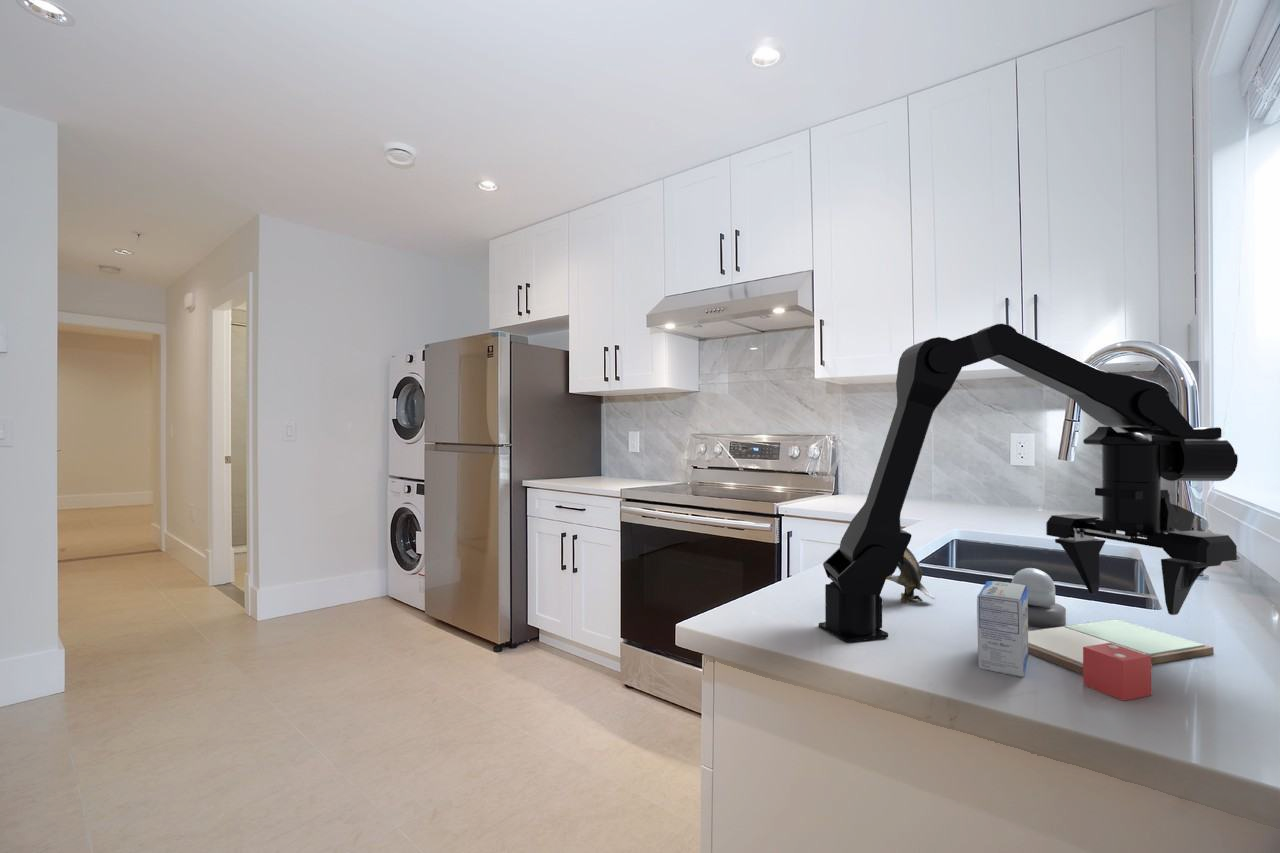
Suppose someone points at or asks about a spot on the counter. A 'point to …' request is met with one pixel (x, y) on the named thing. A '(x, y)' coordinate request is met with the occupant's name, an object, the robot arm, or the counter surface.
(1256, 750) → the counter surface
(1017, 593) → the medicine box
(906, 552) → the eagle figurine
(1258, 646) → the counter surface
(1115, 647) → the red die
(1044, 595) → the dome
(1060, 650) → the game board
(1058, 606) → the dome base
